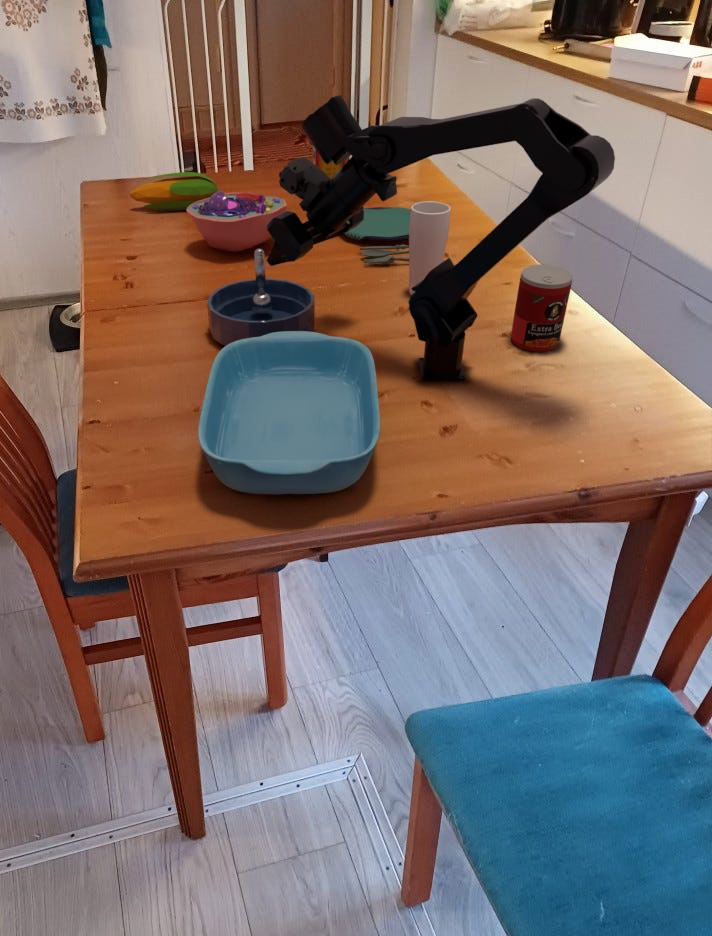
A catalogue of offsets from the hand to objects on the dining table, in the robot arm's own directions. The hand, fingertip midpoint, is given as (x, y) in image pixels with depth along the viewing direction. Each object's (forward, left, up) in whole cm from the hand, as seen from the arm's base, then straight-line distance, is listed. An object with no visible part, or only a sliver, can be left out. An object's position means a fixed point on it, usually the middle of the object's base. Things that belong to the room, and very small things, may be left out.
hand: (286, 253), depth 122 cm
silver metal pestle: (+3, +4, -11) cm, 12 cm away
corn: (+63, +28, -12) cm, 70 cm away
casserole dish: (-33, -2, -12) cm, 36 cm away
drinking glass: (+14, -24, -12) cm, 30 cm away
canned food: (-5, -40, -12) cm, 42 cm away
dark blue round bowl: (-1, +4, -12) cm, 13 cm away
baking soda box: (+69, -7, -12) cm, 70 cm away
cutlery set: (+42, -19, -12) cm, 47 cm away
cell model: (+38, +11, -12) cm, 41 cm away
